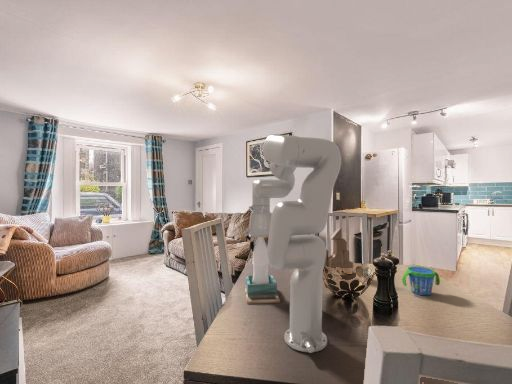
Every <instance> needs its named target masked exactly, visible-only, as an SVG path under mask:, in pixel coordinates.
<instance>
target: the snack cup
mask: <svg viewBox="0 0 512 384" xmlns="http://www.w3.org/2000/svg"><path fill="white" fill-rule="evenodd" d="M406 269H407V270H405V271H404V273H403V275H402V281H401V282H402V285H403V286H405V287H407V281H406V278H407V277H408V279H409V280H408V281H409V286H410V290H411V292H412V293H414V294H416V295H418V296H424V295H426V296H431V294H432V291H433V287H434V286H433V285H436V286H440V284H441V280H440V275H439V274H438V272H436V271H435V270H434V269H431V268H429V267H424V266H408V267H407V268H406ZM434 279H435V280H434Z"/></svg>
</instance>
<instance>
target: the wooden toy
mask: <svg viewBox="0 0 512 384" xmlns="http://www.w3.org/2000/svg"><path fill="white" fill-rule="evenodd" d="M342 232H343V231H342V227H339V226H338V227H337V228H336V229H335V231H333V233H332V234H331V235H330V237H329V240H333V242H332V243H333V244H332V248H333V249H332V253H331V255H330V256H329V250H328V249H327V248H326V259H325V263H324V266H327V267H331V268H336V267H340V268H353V269H354V262H353V261H351V260H350V251H349V250H348V247H347V246H348V242H347V241H346V239H345V238H343V237H342V235H343V234H342Z"/></svg>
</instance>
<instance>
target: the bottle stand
mask: <svg viewBox="0 0 512 384" xmlns="http://www.w3.org/2000/svg"><path fill="white" fill-rule="evenodd" d="M268 278H269V283H266V284H252V280H253V274H252V275H250V274H247V275H245V286H244V292H245V299H246V304H247V305H250V304H255V305H256V304H273V303H275V304H276V303H280V302H281V300H280V297H279V296H278V283H277V282H276V279H275V278H274V276H273V274H268Z"/></svg>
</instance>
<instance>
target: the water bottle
mask: <svg viewBox="0 0 512 384" xmlns="http://www.w3.org/2000/svg"><path fill="white" fill-rule="evenodd" d="M265 237H266V236H255V238H256V239H255V240H256V241H255V242H254V251H252V250H251V252H252V263H251V264H252V268H253V272H252V273H253V274H252V275H253V280H252V284H266V283H269V278H268V275H269V265H270V264H269V262H268V258H267V248H268V243H267V242H266V240H265Z"/></svg>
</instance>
